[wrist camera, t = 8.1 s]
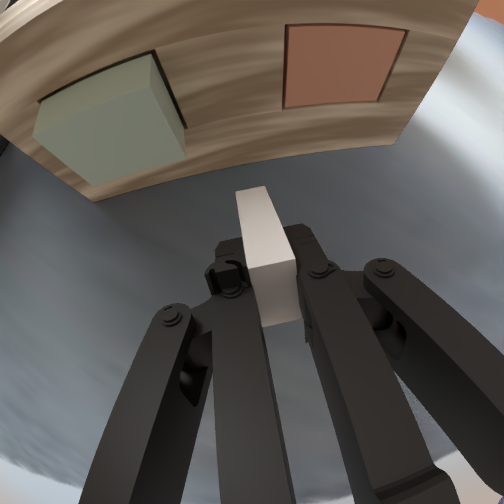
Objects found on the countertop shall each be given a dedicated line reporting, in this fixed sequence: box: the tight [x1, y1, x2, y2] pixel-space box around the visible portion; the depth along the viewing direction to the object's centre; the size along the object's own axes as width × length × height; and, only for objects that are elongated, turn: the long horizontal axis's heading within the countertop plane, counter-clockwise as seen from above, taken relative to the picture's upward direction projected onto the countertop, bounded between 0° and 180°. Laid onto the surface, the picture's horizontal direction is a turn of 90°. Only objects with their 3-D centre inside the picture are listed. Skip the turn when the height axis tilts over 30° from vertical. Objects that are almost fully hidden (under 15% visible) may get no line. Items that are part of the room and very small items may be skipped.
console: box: [0, 0, 479, 202], centre depth 19 cm, size 10×34×22 cm, turn 100°
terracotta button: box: [282, 23, 405, 108], centre depth 17 cm, size 3×8×8 cm, turn 101°
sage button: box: [32, 54, 187, 186], centre depth 17 cm, size 3×8×8 cm, turn 100°
